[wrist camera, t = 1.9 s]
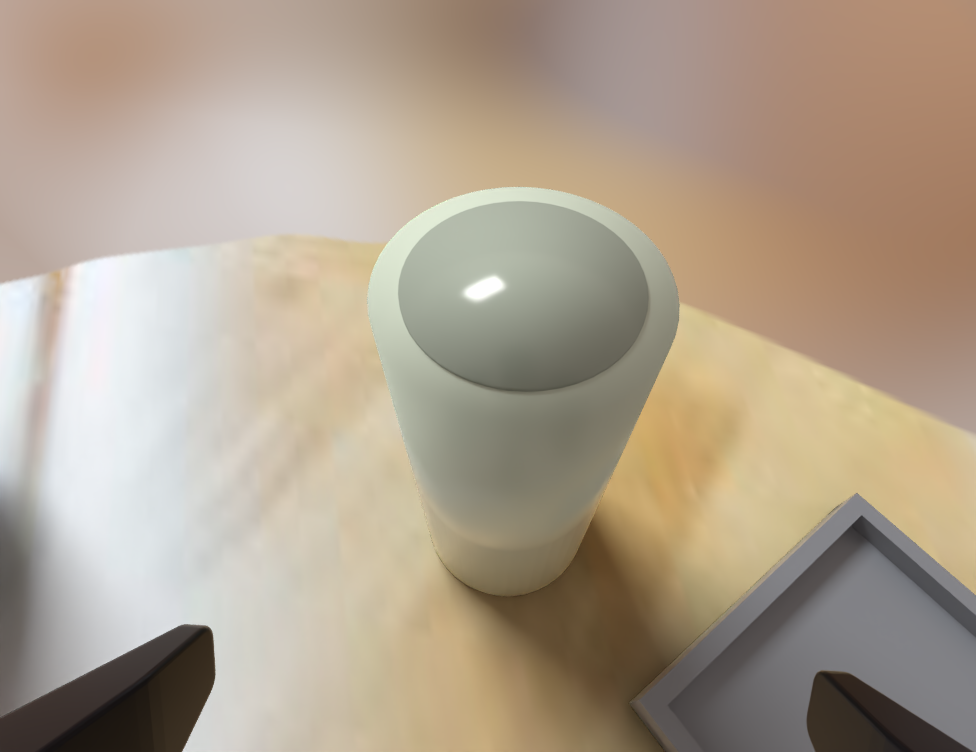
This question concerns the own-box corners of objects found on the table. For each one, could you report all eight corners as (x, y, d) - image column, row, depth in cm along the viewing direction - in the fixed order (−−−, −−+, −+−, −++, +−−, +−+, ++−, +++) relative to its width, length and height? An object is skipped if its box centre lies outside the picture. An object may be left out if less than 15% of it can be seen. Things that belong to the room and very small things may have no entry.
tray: (1158, 795, 17) (1212, 799, 16) (961, 1145, 13) (1011, 1187, 12) (835, 507, 22) (856, 492, 21) (628, 703, 18) (639, 700, 17)
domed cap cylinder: (615, 531, 21) (748, 308, 10) (489, 632, 19) (489, 488, 8) (519, 420, 24) (544, 150, 13) (399, 499, 22) (311, 259, 11)
